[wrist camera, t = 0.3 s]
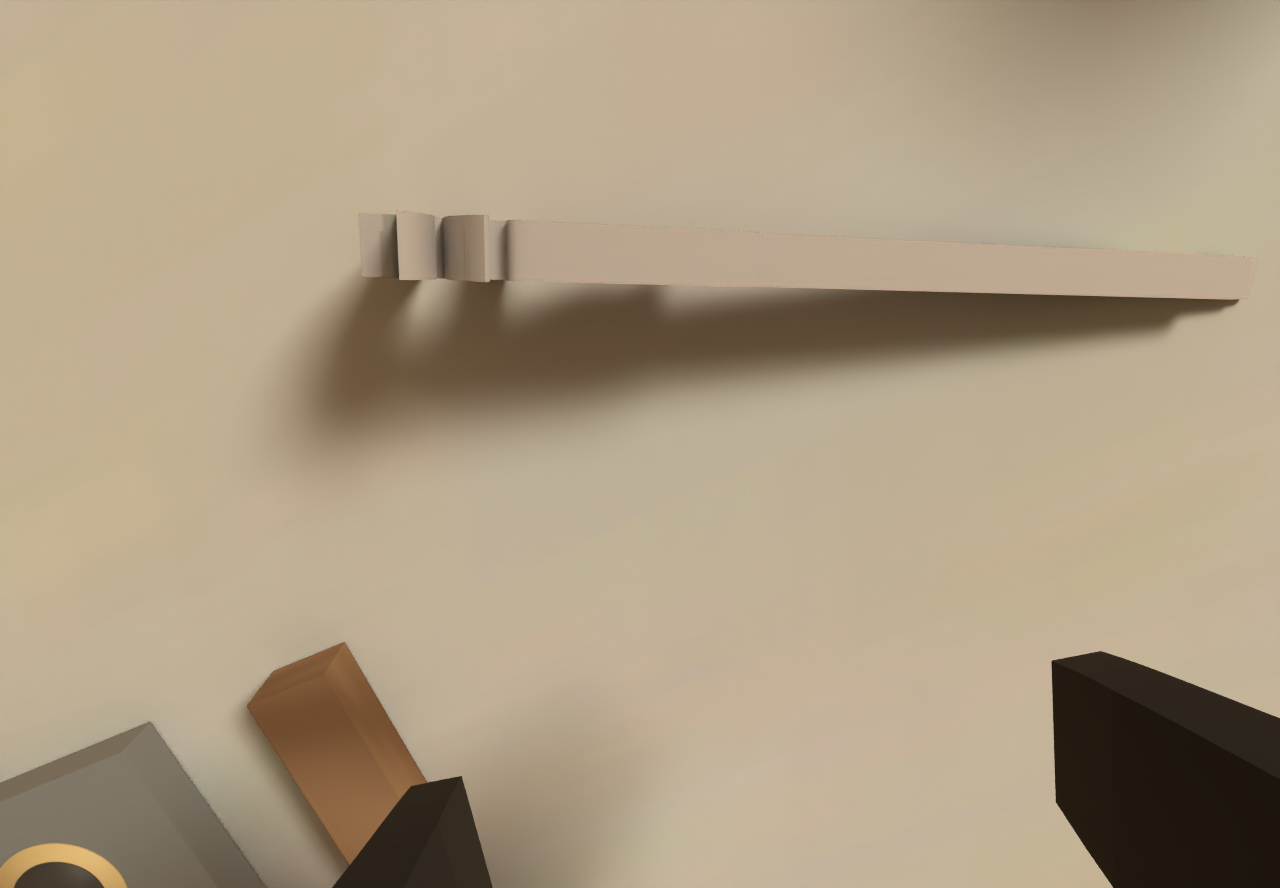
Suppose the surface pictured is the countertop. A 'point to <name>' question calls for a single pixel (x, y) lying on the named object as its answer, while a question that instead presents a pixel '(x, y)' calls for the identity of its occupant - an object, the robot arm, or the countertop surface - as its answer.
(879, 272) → the caliper
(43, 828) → the bolt plate
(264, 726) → the rail
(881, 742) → the countertop surface
